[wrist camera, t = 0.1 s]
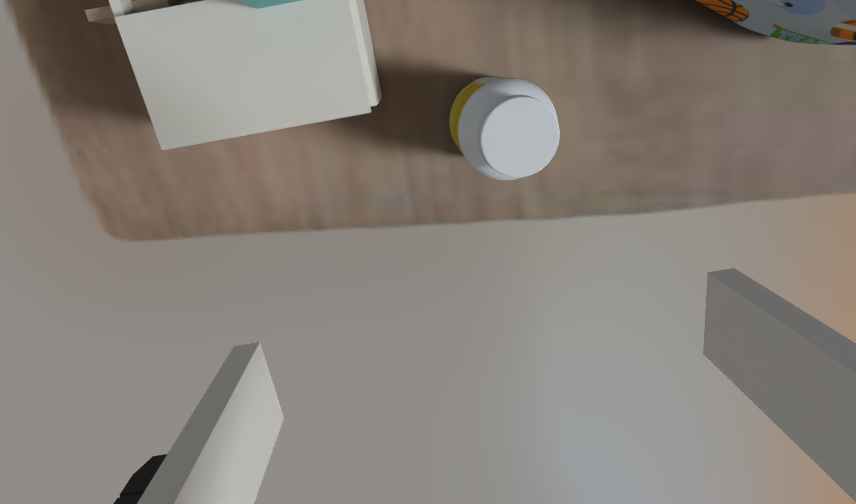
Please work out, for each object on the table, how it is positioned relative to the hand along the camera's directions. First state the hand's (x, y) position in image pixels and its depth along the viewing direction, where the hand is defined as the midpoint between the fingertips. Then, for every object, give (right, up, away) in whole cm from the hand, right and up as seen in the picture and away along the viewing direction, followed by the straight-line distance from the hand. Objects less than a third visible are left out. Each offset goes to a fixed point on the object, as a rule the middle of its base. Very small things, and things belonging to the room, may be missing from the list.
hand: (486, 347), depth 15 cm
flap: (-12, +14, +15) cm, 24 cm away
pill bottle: (+3, +14, +25) cm, 29 cm away
